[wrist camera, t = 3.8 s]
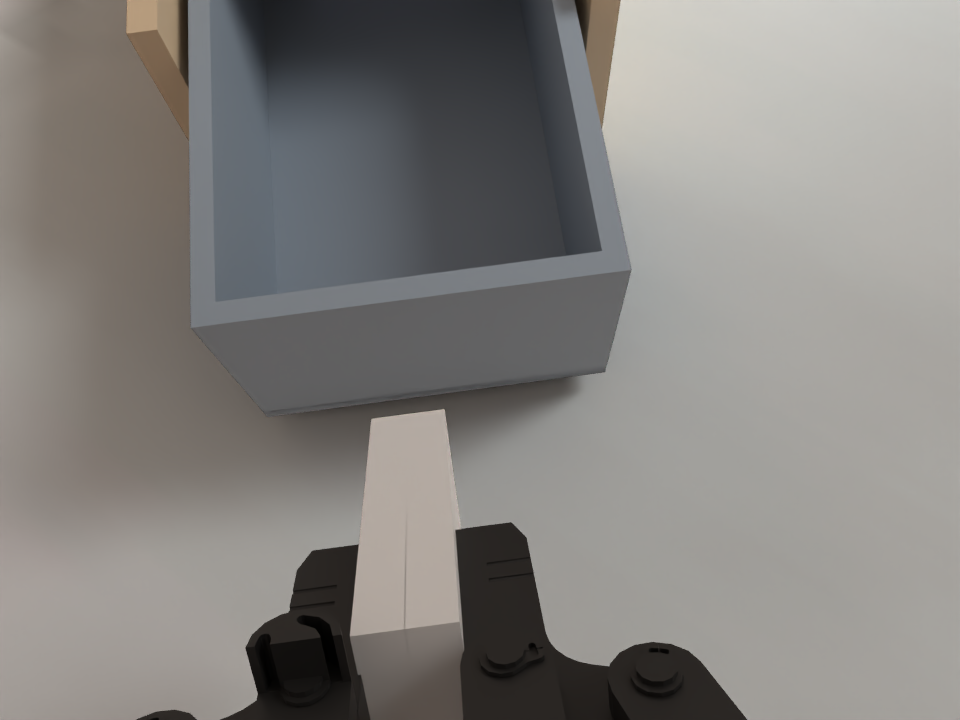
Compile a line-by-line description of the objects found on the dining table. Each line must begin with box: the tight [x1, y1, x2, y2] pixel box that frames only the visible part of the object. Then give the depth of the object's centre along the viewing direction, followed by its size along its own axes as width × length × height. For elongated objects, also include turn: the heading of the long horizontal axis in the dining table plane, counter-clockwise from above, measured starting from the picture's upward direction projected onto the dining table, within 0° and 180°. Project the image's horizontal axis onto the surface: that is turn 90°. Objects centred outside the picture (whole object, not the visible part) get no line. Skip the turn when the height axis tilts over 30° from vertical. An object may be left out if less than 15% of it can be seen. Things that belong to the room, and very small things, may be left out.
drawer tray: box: [188, 0, 631, 417], centre depth 29 cm, size 11×22×7 cm, turn 7°
